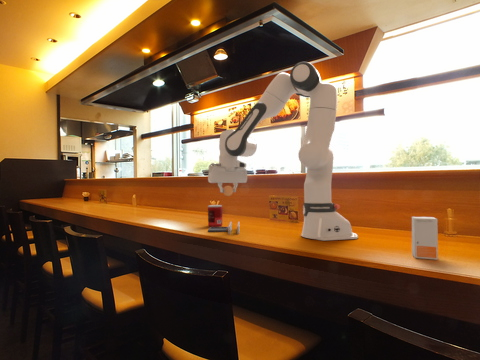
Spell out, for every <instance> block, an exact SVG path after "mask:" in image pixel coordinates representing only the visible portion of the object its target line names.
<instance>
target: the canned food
mask: <svg viewBox="0 0 480 360" xmlns="http://www.w3.org/2000/svg"><path fill="white" fill-rule="evenodd" d="M207 223H208V228H210V227H223V205H222V204H210V205H207Z"/></svg>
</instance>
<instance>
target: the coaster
mask: <svg viewBox="0 0 480 360" xmlns="http://www.w3.org/2000/svg"><path fill="white" fill-rule="evenodd" d="M228 231H229V226H220V227H208V229H207V233H225V232H226V233H228Z"/></svg>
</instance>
